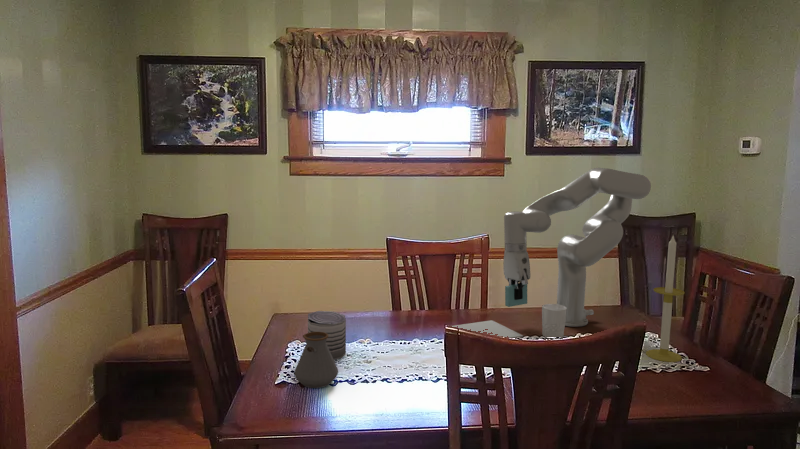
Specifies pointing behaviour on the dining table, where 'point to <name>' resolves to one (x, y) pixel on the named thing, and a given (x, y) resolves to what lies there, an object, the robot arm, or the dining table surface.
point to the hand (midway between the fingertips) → (516, 298)
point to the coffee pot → (316, 362)
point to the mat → (490, 328)
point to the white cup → (553, 320)
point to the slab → (510, 296)
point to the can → (330, 330)
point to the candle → (667, 310)
